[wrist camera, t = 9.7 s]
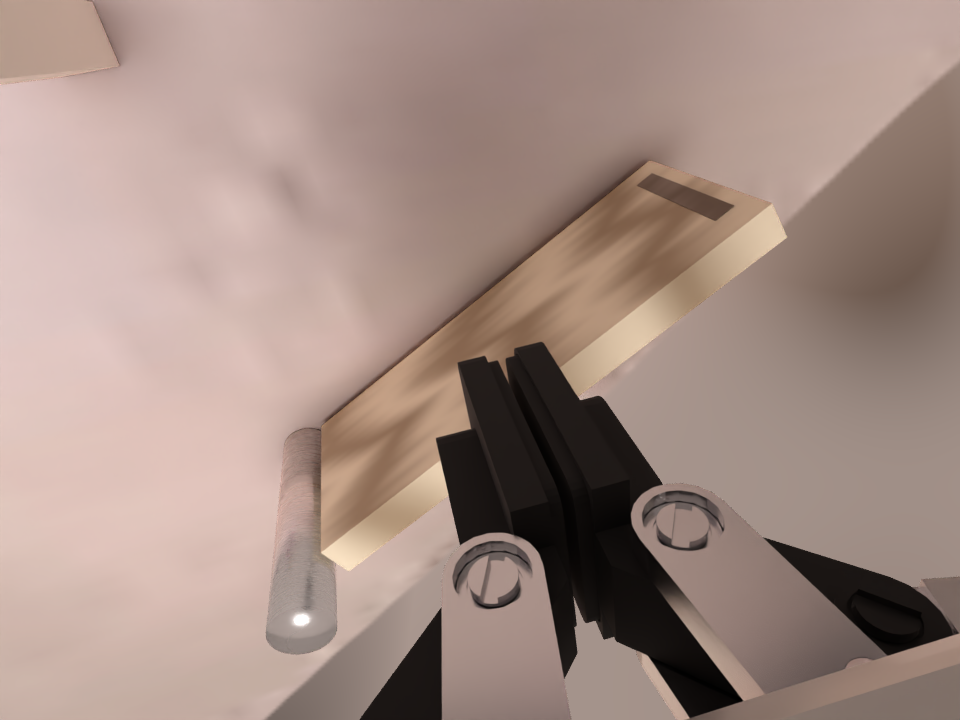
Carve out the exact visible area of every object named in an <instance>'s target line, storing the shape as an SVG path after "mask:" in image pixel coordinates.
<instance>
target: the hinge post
mask: <svg viewBox="0 0 960 720" xmlns="http://www.w3.org/2000/svg"><path fill="white" fill-rule="evenodd" d="M336 631H337V603H336V563H335V562H334V561H332V560H331V559H329V558H328V557H326V556H325V555H323V554H322V553H321V431H320V430H318V429H312V428H307V429H301V430H298V431H296V432H294V433H293V434H291V435H290V436H289V437H288V438H287V440H286V442H285V445H284V453H283V464H282V474H281V484H280V494H279V504H278V515H277V525H276V535H275V545H274V555H273V566H272V576H271V586H270V596H269V607H268V617H267V627H266V639H267V641H268V643H269V644H270V645H271V646H272V647H273V648H274V649H276V650H278V651H280V652H283V653H287V654H305V653H310V652H313V651H316V650H318V649H321V648H322V647H324V646H325V645H327V644H328V643H329V642H330V641H331V640H332V639H333V638H334V636H335V634H336Z"/></svg>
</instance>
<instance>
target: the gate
mask: <svg viewBox="0 0 960 720" xmlns="http://www.w3.org/2000/svg"><path fill="white" fill-rule="evenodd" d="M786 238H787V236H786V234H785V231H784V229H783V227H782V224H781V222H780V220H779V218H778V215H777V213H776V211H775V209H774V206H773V204H772V203H770V202H767V201H764V200H761V199H758V198H755V197H753V196H750V195H747V194H744V193H741V192H739V191H736V190H733V189H730V188H727V187H724V186H722V185H719V184H716V183H713V182H710V181H707V180H705V179H702V178H699V177H696V176H693V175H690V174H688V173H685V172H682V171H679V170H676V169H674V168H671V167H668V166H665V165H662V164H659V163H657V162H654V161H651V160H650V161H648V162H647V163H646V164H645V165H643V166H642V167H641V168H640V169H638V170H637V171H636V172H635V173H633V174H632V175H631V176H630V177H629V178H627V179H626V180H625V181H624V182H622V183H621V184H620V185H619V186H617V187H616V188H615V189H614V190H612V191H611V192H610V193H609V194H608V195H606V196H605V197H604V198H603V199H601V200H600V201H599V202H598V203H596V204H595V205H594V206H593V207H591V208H590V209H589V210H588V211H586V212H585V213H584V214H583V215H582V216H580V217H579V218H578V219H577V220H575V221H574V222H573V223H572V224H570V225H569V226H568V227H567V228H565V229H564V230H563V231H562V232H561V233H559V234H558V235H557V236H556V237H554V238H553V239H552V240H551V241H549V242H548V243H547V244H546V245H544V246H543V247H542V248H541V249H540V250H538V251H537V252H536V253H535V254H533V255H532V256H531V257H530V258H528V259H527V260H526V261H525V262H523V263H522V264H521V265H520V266H519V267H517V268H516V269H515V270H514V271H512V272H511V273H510V274H509V275H507V276H506V277H505V278H504V279H502V280H501V281H500V282H499V283H498V284H496V285H495V286H494V287H493V288H491V289H490V290H489V291H488V292H486V293H485V294H484V295H483V296H481V297H480V298H479V299H478V300H477V301H475V302H474V303H473V304H472V305H470V306H469V307H468V308H467V309H465V310H464V311H463V312H462V313H460V314H459V315H458V316H457V317H455V318H454V319H453V320H452V321H451V322H449V323H448V324H447V325H446V326H444V327H443V328H442V329H441V330H439V331H438V332H437V333H436V334H434V335H433V336H432V337H431V338H430V339H428V340H427V341H426V342H425V343H423V344H422V345H421V346H420V347H418V348H417V349H416V350H415V351H413V352H412V353H411V354H410V355H409V356H407V357H406V358H405V359H404V360H402V361H401V362H400V363H399V364H397V365H396V366H395V367H394V368H392V369H391V370H390V371H389V372H388V373H386V374H385V375H384V376H383V377H381V378H380V379H379V380H378V381H376V382H375V383H374V384H373V385H371V386H370V387H369V388H368V389H367V390H365V391H364V392H363V393H362V394H360V395H359V396H358V397H357V398H355V399H354V400H353V401H352V402H350V403H349V404H348V405H347V406H346V407H344V408H343V409H342V410H341V411H339V412H338V413H337V414H336V415H334V416H333V417H332V418H331V419H329V420H328V421H327V422H326V423H325V424H323V425H322V426H321V553H322V554H323V555H325V556H326V557H328V558H329V559H331V560H332V561H334V562H335V563H337V564H338V565H340V566H341V567H343V568H344V569H346V570H347V571H350V570H351V569H353V568H354V567H355V566H357V565H358V564H359V563H361V562H362V561H363V560H365V559H366V558H367V557H369V556H370V555H371V554H372V553H374V552H375V551H376V550H378V549H379V548H380V547H382V546H383V545H384V544H386V543H387V542H388V541H390V540H391V539H392V538H393V537H395V536H396V535H397V534H399V533H400V532H401V531H403V530H404V529H405V528H407V527H408V526H409V525H411V524H412V523H413V522H414V521H416V520H417V519H418V518H420V517H421V516H422V515H424V514H425V513H426V512H428V511H429V510H430V509H431V508H433V507H434V506H435V505H437V504H438V503H439V502H441V501H442V500H443V499H445V498H446V497H447V496H449V495H448V490H447V486H446V482H445V477H444V473H443V469H442V464H441V460H440V456H439V451H438V447H437V443H436V438H438V437H442V436H445V435H449V434H453V433H457V432H461V431H465V430H469V429H471V426H470V421H469V417H468V412H467V407H466V403H465V398H464V393H463V389H462V384H461V379H460V375H459V370H458V364H457V362H461V361H465V360H469V359H473V358H477V357H481V356H486V358H487V361H488V362H492V361H496V360H498V362H499V364H500V366H501V368H502V370H503V372H504V374H505V377H506V379H507V381H508V375H507V369H506V358H508V357H512V356H514V349H515V348H517V347H521V346H525V345H529V344H533V343H537V342H543V343H544V344H545V346H546V347H547V349H548V350H549V352H550V353H551V355H552V357H553V358H554V360H555V361H556V363H557V365H558V366H559V368H560V369H561V371H562V373H563V374H564V376H565V377H566V379H567V381H568V382H569V384H570V385H571V387H572V389H573V390H574V392H575V393H576V395H577V396H580V395H581V394H582V393H584V392H585V391H586V390H588V389H589V388H590V387H591V386H593V385H594V384H595V383H597V382H598V381H599V380H601V379H602V378H603V377H605V376H606V375H607V374H608V373H610V372H611V371H612V370H614V369H615V368H616V367H618V366H619V365H620V364H622V363H623V362H624V361H626V360H627V359H628V358H629V357H631V356H632V355H633V354H635V353H636V352H637V351H639V350H640V349H641V348H643V347H644V346H645V345H647V344H648V343H649V342H650V341H652V340H653V339H654V338H656V337H657V336H658V335H660V334H661V333H662V332H664V331H665V330H666V329H667V328H669V327H670V326H671V325H673V324H674V323H675V322H677V321H678V320H679V319H681V318H682V317H683V316H685V315H686V314H687V313H688V312H690V311H691V310H692V309H694V308H695V307H696V306H698V305H699V304H700V303H702V302H703V301H704V300H706V299H707V298H708V297H709V296H711V295H712V294H713V293H715V292H716V291H717V290H719V289H720V288H721V287H723V286H724V285H725V284H726V283H728V282H729V281H730V280H732V279H733V278H734V277H736V276H737V275H738V274H740V273H741V272H742V271H743V270H745V269H746V268H747V267H749V266H750V265H751V264H753V263H754V262H755V261H757V260H758V259H759V258H760V257H762V256H763V255H765V254H766V253H767V252H768V251H770V250H771V249H772V248H774V247H775V246H776V245H777V244H779V243H780V242H782V241H783V240H784V239H786ZM508 383H509V381H508Z"/></svg>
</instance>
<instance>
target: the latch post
mask: <svg viewBox="0 0 960 720" xmlns="http://www.w3.org/2000/svg"><path fill="white" fill-rule="evenodd" d="M118 66H120V65H119V63H118V61H117V58H116V56H115V54H114V51H113V49H112V46H111V44H110V42H109V39H108V37H107V35H106V32H105V30H104V28H103V25H102V23H101V21H100V18H99V16H98V14H97V11H96V9H95V7H94V4H93V2H91V1H86V0H0V85H3V84H11V83H19V82H27V81H36V80H44V79H52V78H60V77H66V76H71V75H76V74H81V73H87V72H92V71H97V70H102V69H108V68H113V67H118Z"/></svg>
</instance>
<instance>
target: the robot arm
mask: <svg viewBox="0 0 960 720" xmlns="http://www.w3.org/2000/svg"><path fill="white" fill-rule="evenodd" d="M457 364H458V370H459V375H460V379H461V384H462V389H463V393H464V398H465V403H466V407H467V412H468V417H469V421H470V426H471V429H469V430H465V431H461V432H457V433H453V434H449V435H445V436H442V437H438V438H436V443H437V447H438V451H439V456H440V460H441V464H442V469H443V473H444V477H445V482H446V486H447V490H448V495H449V499H450V503H451V508H452V512H453V516H454V521H455V525H456V529H457V534H458V538H459V542H460V546H459V547H458V548H457V549H456V550H455V551H454V552H453V553H452V554H451V555H450V557H449V559H448V561H447V563H446V565H445V566H444V570H443V575H442V607H441V609H440V610H439V611H438V613H437V614H436V616H435V617H434V618H433V620H432V621H431V623H430V624H429V625H428V626H427V628H426V629H425V631H424V632H423V633H422V635H421V636H420V637H419V639H418V640H417V642H416V643H415V644H414V646H413V647H412V649H411V650H410V651H409V653H408V654H407V655H406V657H405V658H404V659H403V661H402V662H401V663H400V665H399V666H398V668H397V669H396V670H395V672H394V673H393V674H392V676H391V677H390V679H389V680H388V681H387V683H386V684H385V686H384V687H383V688H382V689H381V691H380V692H379V694H378V695H377V696H376V698H375V699H374V700H373V702H372V703H371V705H370V706H369V708H368V709H367V710H366V711H365V713H364V714H363V716H362V717H361V719H360V720H571V715H570V709H569V704H568V698H567V692H566V687H565V681H564V679H565V676H566V675H567V673H568V671H569V669H570V667H571V665H572V663H573V661H574V659H575V657H576V655H577V645H576V637H575V629H574V627H575V626H576V625H577V623H576V615H575V606H574V598H575V600H576V603H577V605H578V608H579V610H580V613H581V615H582V617H583V620H584V621H585V623H589V622H592V621H596V623H597V625H598V627H599V630H600V632H601V634H602V637H603V639H608V638H611V637H615V640H616V641H617V642H619V643H621V644H623V645H626V646H628V647H630V648H632V649H634V650H636V655H637V657H638V659H639V661H640V663H641V666H642V667H643V669H644V671H645V672H646V673H647V675H648V677H649V678H650V680H651V681H652V683H653V684H654V686H655V687H656V689H657V691H658V692H659V694H660V695H661V697H662V698H663V700H664V701H665V702H666V704H667V706H668V707H669V709H670V710H671V712H672V714H673V715H674V717H675V718H676V720H960V577H948V578H932V579H921V582H920V584H919V587H911V586H909V585H907V584H905V583H902V582H900V581H898V580H895V579H893V578H891V577H888V576H885V575H882V574H878V573H875V572H872V571H869V570H866V569H863V568H859V567H856V566H853V565H850V564H847V563H843V562H840V561H837V560H833V559H831V558H827V557H824V556H821V555H818V554H814V553H811V552H808V551H805V550H802V549H799V548H796V547H792V546H789V545H786V544H783V543H779V542H776V541H773V540H770V539H767V538H763V537H762V536H761V535H760V534H759V533H758V532H756V531H755V530H754V529H753V528H752V527H751V526H750V525H749V524H748V523H747V522H746V521H745V520H744V519H743V518H742V517H741V516H739V514H737V513H736V512H735V511H734V510H733V509H732V508H731V507H730V506H729V505H728V504H727V503H726V502H725V501H724V500H722V499H721V498H719V497H718V496H717V495H715V494H714V493H713V492H711V491H708V490H706V489H703V488H701V487H699V486H694V485H689V484H683V483H676V484H664V485H663V484H662V482H661V481H660V479H659V478H658V476H657V475H656V474H655V472H654V471H653V469H652V468H651V466H650V465H649V463H648V462H647V461H646V459H645V458H644V456H643V455H642V453H641V452H640V451H639V449H638V448H637V446H636V445H635V443H634V442H633V440H632V439H631V437H630V436H629V435H628V433H627V432H626V430H625V429H624V427H623V426H622V425H621V423H620V422H619V420H618V419H617V417H616V416H615V414H614V413H613V412H612V410H611V409H610V407H609V406H608V404H607V403H606V401H605V400H604V399H603V398H602V397H600V396H596V397H592V398H588V399H584V400H579V398H578V396H577V395H576V393H575V392H574V390H573V389H572V387H571V385H570V384H569V382H568V381H567V379H566V377H565V376H564V374H563V373H562V371H561V369H560V368H559V366H558V365H557V363H556V361H555V360H554V358H553V357H552V355H551V353H550V352H549V350H548V349H547V347H546V346H545V344H544V343H543V342H537V343H533V344H529V345H525V346H521V347H517V348H515V349H514V356H512V357H508V358H506V369H507V375H508V381H509V383H508V381H507V379H506V377H505V374H504V372H503V370H502V368H501V366H500V364H499V362H498V360H496V361H492V362H488V361H487V358H486V356H481V357H477V358H473V359H469V360H465V361H461V362H457ZM573 596H574V598H573Z"/></svg>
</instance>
